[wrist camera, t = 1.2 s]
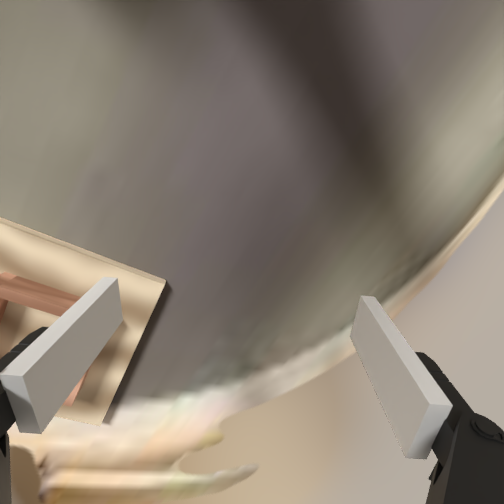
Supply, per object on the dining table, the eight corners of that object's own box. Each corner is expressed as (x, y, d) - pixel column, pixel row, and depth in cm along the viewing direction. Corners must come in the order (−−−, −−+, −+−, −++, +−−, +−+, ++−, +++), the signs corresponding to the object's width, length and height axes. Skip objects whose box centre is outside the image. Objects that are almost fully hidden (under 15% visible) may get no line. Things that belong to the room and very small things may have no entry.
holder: (-14, 211, 30) (-50, 218, 26) (166, 280, 35) (161, 294, 31) (-67, 377, 34) (-106, 407, 29) (103, 417, 39) (92, 446, 35)
